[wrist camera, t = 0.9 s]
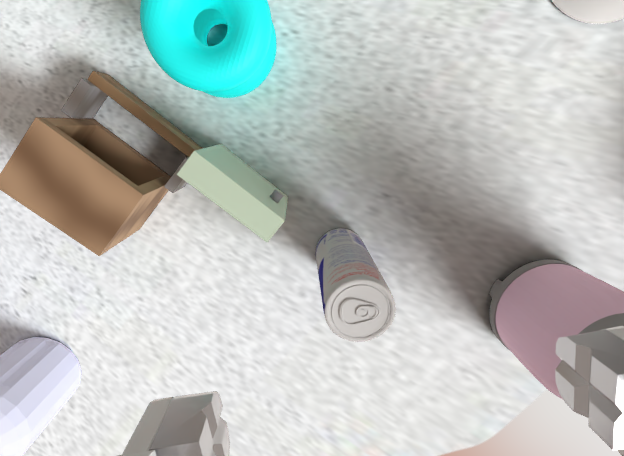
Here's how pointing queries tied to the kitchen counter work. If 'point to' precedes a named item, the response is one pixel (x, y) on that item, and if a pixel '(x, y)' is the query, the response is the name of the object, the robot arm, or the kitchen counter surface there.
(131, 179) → the cabinet
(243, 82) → the donuts
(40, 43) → the kitchen counter surface
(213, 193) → the pale green flat block
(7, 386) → the soap bottle
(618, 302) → the blender
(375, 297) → the beverage can
